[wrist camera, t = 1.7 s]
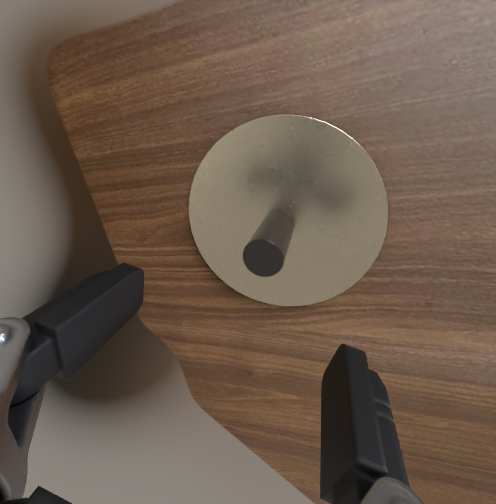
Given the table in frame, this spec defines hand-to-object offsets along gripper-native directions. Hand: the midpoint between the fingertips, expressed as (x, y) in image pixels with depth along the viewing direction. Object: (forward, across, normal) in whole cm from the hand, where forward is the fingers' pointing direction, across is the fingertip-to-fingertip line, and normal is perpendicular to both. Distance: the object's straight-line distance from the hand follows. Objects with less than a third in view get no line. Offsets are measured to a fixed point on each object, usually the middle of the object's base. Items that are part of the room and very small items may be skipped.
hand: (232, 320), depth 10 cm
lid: (+11, 0, 0) cm, 11 cm away
